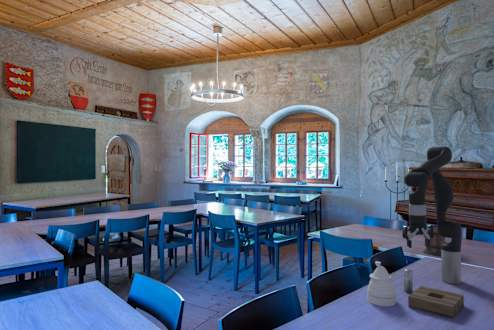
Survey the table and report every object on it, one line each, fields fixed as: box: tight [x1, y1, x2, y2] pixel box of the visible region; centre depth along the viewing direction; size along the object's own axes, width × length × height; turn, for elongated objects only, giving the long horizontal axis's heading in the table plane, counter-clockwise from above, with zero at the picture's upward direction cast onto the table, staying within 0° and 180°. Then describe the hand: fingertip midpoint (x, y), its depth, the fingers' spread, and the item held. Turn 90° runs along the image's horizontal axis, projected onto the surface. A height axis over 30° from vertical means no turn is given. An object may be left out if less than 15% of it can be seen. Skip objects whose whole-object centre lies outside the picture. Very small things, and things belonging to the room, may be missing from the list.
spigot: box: [403, 268, 414, 294], centre depth 176 cm, size 4×4×11 cm
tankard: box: [422, 224, 448, 257], centre depth 251 cm, size 24×17×20 cm
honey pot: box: [366, 261, 397, 307], centre depth 164 cm, size 13×13×18 cm
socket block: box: [407, 285, 465, 320], centre depth 156 cm, size 18×18×5 cm
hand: (418, 247), depth 165 cm, fingers open, 8 cm apart
